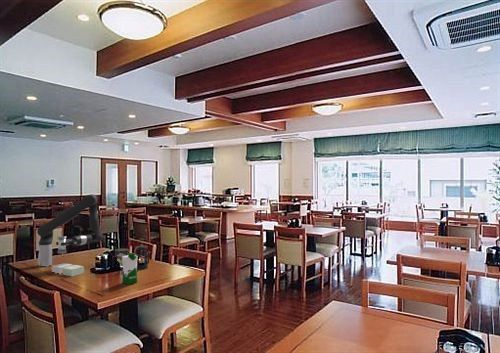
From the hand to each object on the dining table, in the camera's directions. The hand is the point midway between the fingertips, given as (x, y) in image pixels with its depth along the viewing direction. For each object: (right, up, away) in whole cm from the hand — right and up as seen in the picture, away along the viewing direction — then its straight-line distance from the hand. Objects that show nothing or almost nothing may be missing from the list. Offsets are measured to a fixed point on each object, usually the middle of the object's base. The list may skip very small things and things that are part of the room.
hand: (58, 244), depth 265 cm
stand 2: (+13, -21, -4) cm, 25 cm away
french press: (+59, -22, +13) cm, 64 cm away
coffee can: (+42, -22, +15) cm, 49 cm away
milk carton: (+62, -21, -26) cm, 71 cm away
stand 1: (+1, -21, +2) cm, 22 cm away
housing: (+1, -7, +2) cm, 7 cm away
